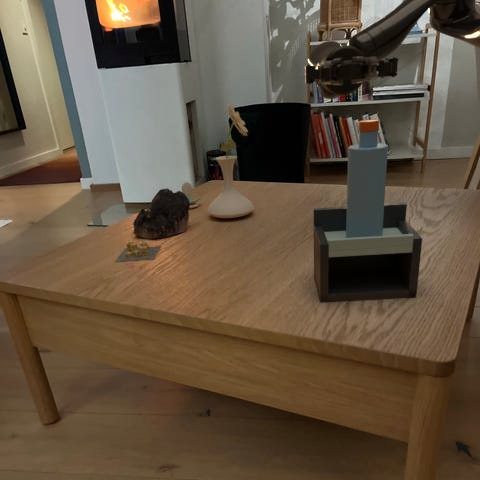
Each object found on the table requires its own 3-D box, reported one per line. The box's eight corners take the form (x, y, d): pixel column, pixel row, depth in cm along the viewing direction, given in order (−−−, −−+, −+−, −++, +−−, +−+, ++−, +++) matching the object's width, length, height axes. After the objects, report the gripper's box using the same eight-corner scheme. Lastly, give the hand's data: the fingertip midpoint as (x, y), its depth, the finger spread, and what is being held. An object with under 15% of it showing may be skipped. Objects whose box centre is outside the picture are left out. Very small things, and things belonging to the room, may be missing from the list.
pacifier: (196, 210, 125) (204, 203, 130) (193, 186, 122) (201, 180, 127) (171, 210, 127) (179, 203, 132) (167, 186, 124) (176, 181, 129)
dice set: (128, 250, 100) (126, 241, 99) (152, 248, 99) (150, 239, 98) (122, 258, 95) (120, 249, 94) (147, 257, 95) (145, 248, 94)
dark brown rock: (122, 242, 107) (115, 199, 101) (147, 220, 118) (141, 180, 112) (178, 247, 104) (173, 203, 98) (198, 224, 115) (195, 183, 109)
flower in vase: (238, 224, 110) (229, 106, 99) (199, 220, 116) (185, 108, 104) (266, 209, 120) (260, 100, 108) (228, 206, 125) (219, 103, 114)
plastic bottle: (378, 231, 72) (384, 117, 65) (385, 243, 68) (393, 121, 60) (343, 234, 73) (346, 120, 65) (348, 245, 68) (352, 124, 61)
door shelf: (320, 302, 71) (320, 227, 65) (313, 276, 79) (313, 208, 74) (416, 297, 70) (424, 220, 64) (399, 271, 78) (404, 202, 73)
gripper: (300, 50, 83) (307, 46, 69) (383, 42, 82) (408, 37, 68) (301, 97, 86) (308, 103, 72) (380, 90, 85) (404, 95, 71)
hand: (356, 71), depth 70 cm, fingers open, 8 cm apart
